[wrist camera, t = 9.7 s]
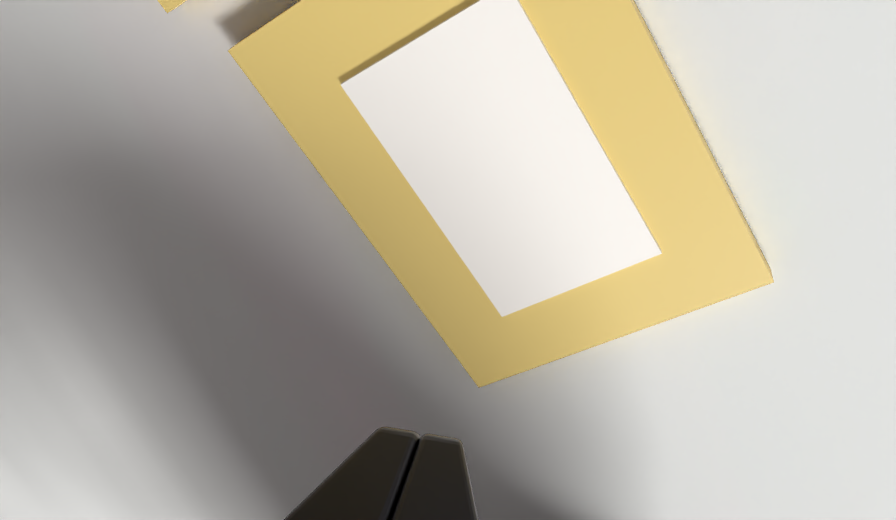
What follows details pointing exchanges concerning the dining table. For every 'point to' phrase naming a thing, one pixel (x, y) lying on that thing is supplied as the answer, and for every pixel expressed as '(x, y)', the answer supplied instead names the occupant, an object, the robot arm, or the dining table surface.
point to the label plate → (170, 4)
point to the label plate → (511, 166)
